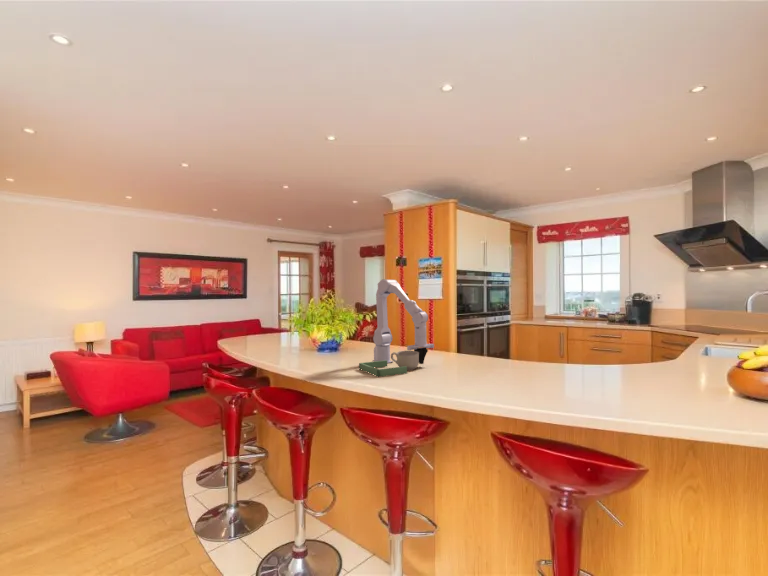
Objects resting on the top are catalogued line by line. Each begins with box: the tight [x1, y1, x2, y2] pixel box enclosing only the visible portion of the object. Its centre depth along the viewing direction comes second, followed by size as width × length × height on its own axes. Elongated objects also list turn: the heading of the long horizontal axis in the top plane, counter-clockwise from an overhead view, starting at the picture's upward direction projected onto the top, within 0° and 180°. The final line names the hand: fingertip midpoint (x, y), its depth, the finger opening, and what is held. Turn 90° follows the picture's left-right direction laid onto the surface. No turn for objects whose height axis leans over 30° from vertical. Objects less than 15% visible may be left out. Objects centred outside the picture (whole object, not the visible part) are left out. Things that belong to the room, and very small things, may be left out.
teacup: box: [390, 350, 419, 371], centre depth 185 cm, size 14×11×8 cm
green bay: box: [358, 360, 408, 377], centre depth 179 cm, size 20×15×3 cm
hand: (421, 363), depth 189 cm, fingers closed
